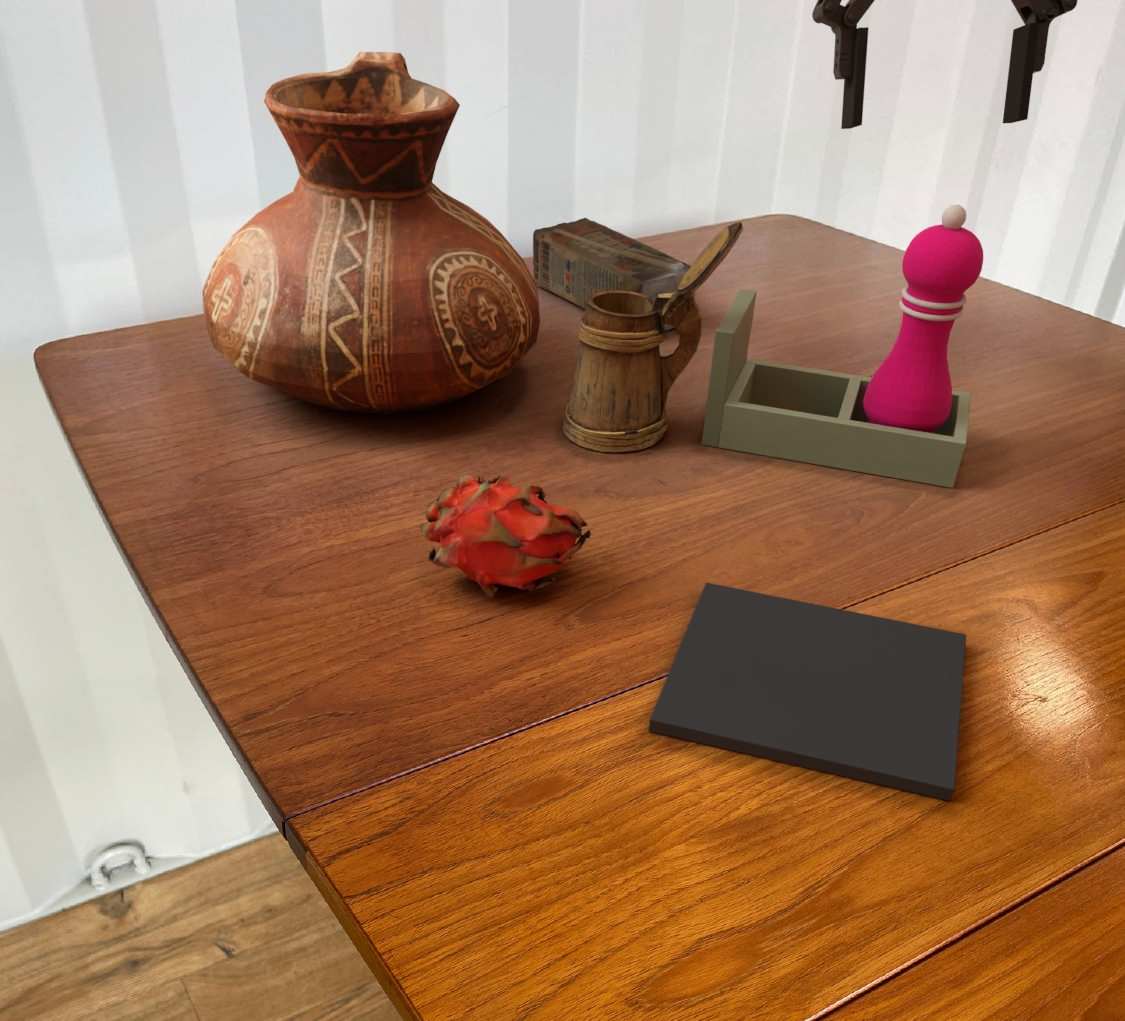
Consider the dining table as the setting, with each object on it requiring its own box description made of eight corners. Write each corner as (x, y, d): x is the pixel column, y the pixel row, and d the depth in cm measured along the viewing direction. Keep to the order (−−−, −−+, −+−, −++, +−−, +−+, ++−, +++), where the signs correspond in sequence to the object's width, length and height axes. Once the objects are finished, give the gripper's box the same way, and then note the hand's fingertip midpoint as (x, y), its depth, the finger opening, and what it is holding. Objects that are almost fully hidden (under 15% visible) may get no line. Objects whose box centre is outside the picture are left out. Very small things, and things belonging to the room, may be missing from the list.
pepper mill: (932, 476, 92) (1003, 225, 78) (847, 460, 93) (902, 211, 80) (940, 441, 97) (1009, 199, 83) (859, 426, 98) (914, 187, 85)
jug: (586, 423, 97) (601, 106, 80) (247, 474, 88) (185, 130, 72) (480, 306, 118) (475, 34, 101) (197, 338, 109) (139, 45, 92)
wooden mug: (713, 463, 92) (743, 240, 80) (556, 448, 93) (563, 226, 81) (716, 418, 99) (744, 205, 87) (569, 404, 100) (577, 193, 88)
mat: (962, 645, 74) (966, 633, 73) (950, 801, 62) (954, 789, 62) (704, 593, 77) (705, 581, 77) (648, 731, 66) (649, 719, 65)
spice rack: (958, 435, 98) (991, 324, 91) (952, 488, 90) (988, 371, 84) (725, 397, 102) (740, 288, 96) (701, 445, 95) (715, 330, 88)
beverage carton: (637, 341, 112) (642, 275, 107) (528, 286, 123) (529, 224, 118) (694, 325, 115) (701, 260, 111) (583, 273, 126) (586, 213, 122)
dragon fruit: (412, 589, 79) (572, 610, 81) (412, 584, 71) (590, 607, 73) (425, 472, 79) (587, 495, 80) (426, 453, 70) (606, 479, 72)
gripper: (1101, -195, 83) (1058, 124, 91) (781, -192, 81) (769, 134, 90) (1159, -236, 76) (1107, 113, 85) (812, -233, 74) (795, 124, 83)
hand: (933, 125), depth 87 cm, fingers open, 13 cm apart
